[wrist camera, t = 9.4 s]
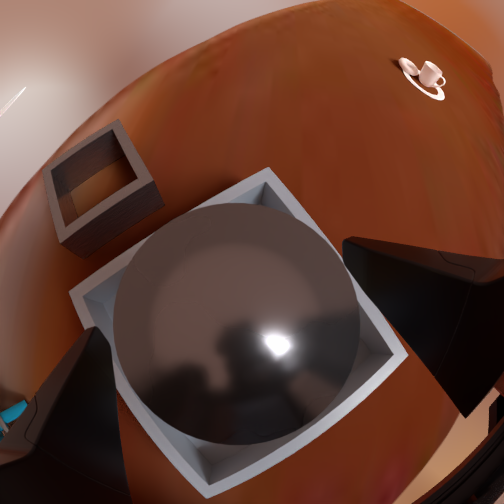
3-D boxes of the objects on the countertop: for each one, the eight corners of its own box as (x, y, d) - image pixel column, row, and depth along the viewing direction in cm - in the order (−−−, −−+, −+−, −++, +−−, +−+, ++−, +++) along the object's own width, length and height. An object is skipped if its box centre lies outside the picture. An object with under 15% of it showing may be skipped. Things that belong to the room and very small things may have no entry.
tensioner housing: (165, 205, 19) (153, 180, 16) (83, 259, 18) (59, 243, 14) (130, 144, 21) (118, 118, 18) (61, 190, 19) (42, 170, 16)
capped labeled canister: (280, 345, 16) (399, 343, 4) (227, 381, 15) (205, 482, 3) (243, 294, 17) (265, 167, 5) (190, 329, 16) (78, 281, 4)
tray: (381, 354, 17) (408, 355, 14) (210, 474, 14) (206, 498, 10) (262, 193, 20) (268, 167, 17) (93, 300, 17) (68, 291, 14)
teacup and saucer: (389, 63, 30) (398, 45, 26) (419, 69, 31) (428, 53, 28) (422, 100, 28) (435, 81, 24) (450, 103, 29) (462, 88, 25)
